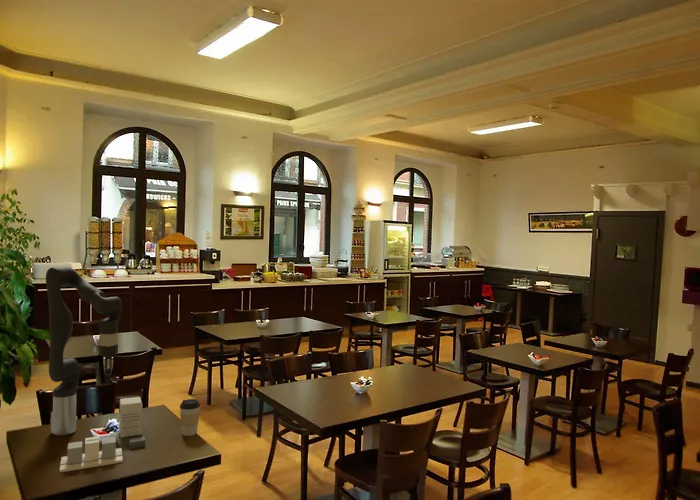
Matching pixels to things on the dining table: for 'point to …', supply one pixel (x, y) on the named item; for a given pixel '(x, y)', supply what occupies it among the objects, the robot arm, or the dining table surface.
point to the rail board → (77, 460)
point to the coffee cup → (189, 416)
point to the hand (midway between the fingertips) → (107, 382)
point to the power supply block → (137, 442)
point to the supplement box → (130, 416)
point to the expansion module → (92, 448)
